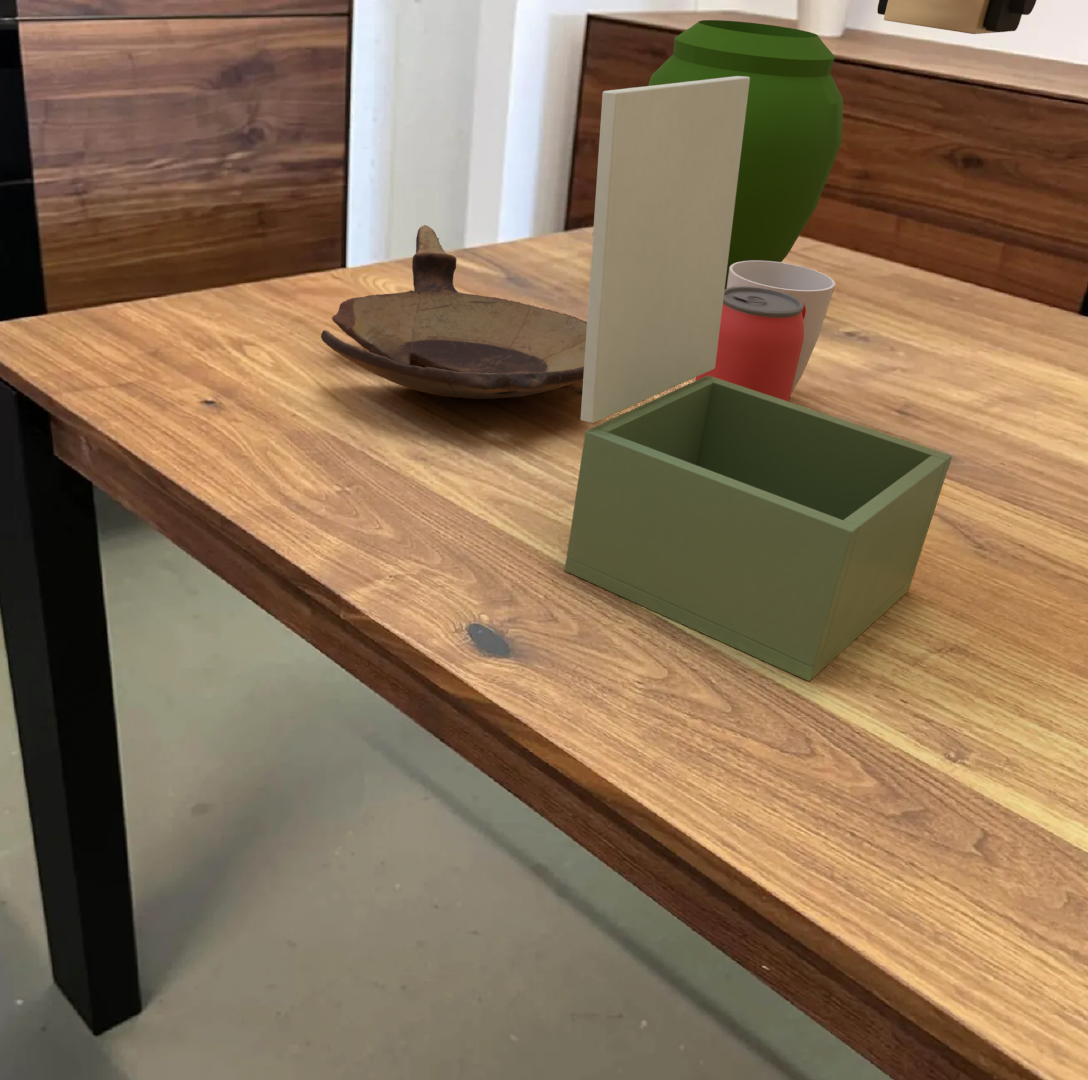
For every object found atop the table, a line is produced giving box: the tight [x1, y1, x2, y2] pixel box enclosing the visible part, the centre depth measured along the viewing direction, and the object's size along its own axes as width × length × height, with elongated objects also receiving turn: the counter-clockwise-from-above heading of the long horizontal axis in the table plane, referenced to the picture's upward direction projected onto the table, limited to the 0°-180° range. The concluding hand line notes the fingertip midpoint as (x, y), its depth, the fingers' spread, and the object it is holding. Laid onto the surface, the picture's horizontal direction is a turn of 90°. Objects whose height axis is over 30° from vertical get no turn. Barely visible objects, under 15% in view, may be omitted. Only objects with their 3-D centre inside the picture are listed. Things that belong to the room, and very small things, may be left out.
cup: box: [727, 261, 836, 394], centre depth 97 cm, size 8×8×10 cm
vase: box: [647, 19, 844, 290], centre depth 118 cm, size 20×20×24 cm
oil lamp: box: [320, 224, 587, 400], centre depth 96 cm, size 22×30×8 cm
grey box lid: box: [580, 76, 750, 424], centre depth 67 cm, size 17×14×1 cm
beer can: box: [694, 286, 804, 402], centre depth 84 cm, size 7×7×12 cm
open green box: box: [564, 375, 953, 682], centre depth 70 cm, size 16×14×9 cm
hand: (947, 17), depth 58 cm, fingers closed on block, 4 cm apart
